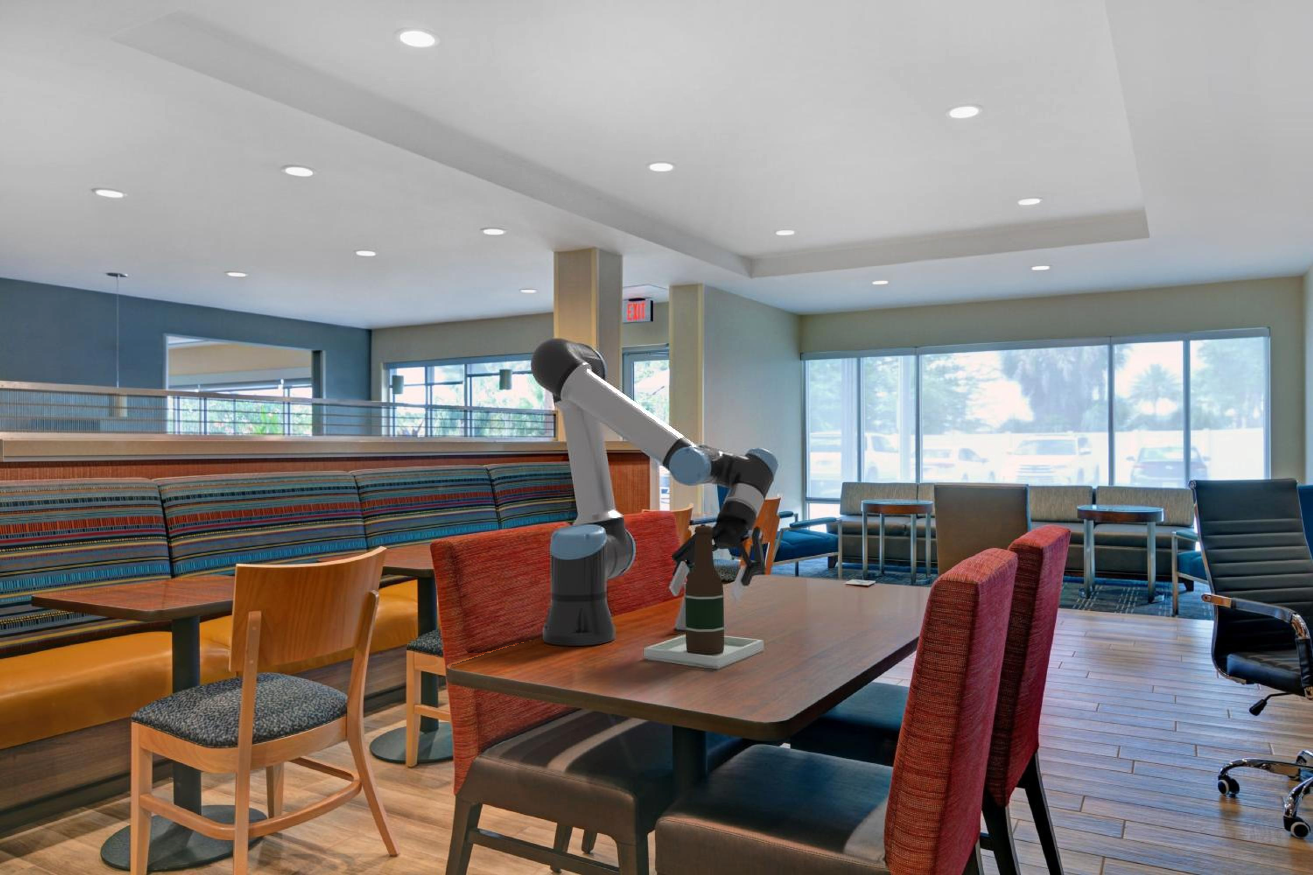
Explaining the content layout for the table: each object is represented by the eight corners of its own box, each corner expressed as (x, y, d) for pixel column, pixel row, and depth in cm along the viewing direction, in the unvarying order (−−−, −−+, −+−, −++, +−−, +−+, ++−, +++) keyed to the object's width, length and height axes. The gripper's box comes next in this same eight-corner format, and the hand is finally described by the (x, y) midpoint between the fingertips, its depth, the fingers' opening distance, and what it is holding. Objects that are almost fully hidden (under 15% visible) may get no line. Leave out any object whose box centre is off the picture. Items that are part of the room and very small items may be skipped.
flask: (708, 625, 201) (707, 581, 201) (706, 631, 194) (705, 585, 194) (675, 625, 202) (675, 580, 202) (673, 631, 195) (672, 585, 195)
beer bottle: (678, 654, 169) (677, 527, 170) (692, 645, 177) (691, 524, 177) (718, 657, 167) (716, 528, 167) (730, 648, 174) (728, 525, 174)
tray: (644, 658, 168) (644, 648, 168) (693, 641, 183) (693, 631, 183) (718, 669, 160) (717, 658, 160) (763, 650, 175) (763, 640, 175)
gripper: (801, 525, 179) (768, 612, 166) (695, 521, 193) (656, 600, 180) (789, 500, 174) (754, 587, 162) (681, 497, 188) (641, 577, 176)
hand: (702, 594), depth 171 cm, fingers open, 13 cm apart
